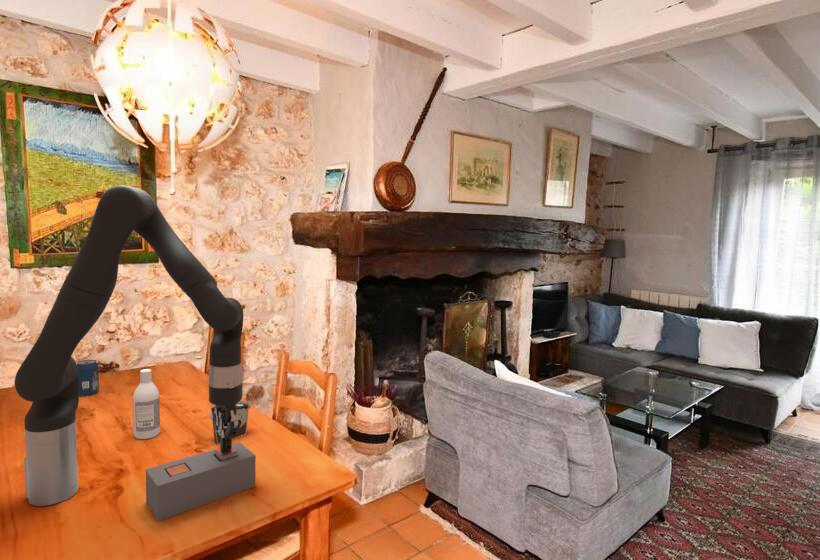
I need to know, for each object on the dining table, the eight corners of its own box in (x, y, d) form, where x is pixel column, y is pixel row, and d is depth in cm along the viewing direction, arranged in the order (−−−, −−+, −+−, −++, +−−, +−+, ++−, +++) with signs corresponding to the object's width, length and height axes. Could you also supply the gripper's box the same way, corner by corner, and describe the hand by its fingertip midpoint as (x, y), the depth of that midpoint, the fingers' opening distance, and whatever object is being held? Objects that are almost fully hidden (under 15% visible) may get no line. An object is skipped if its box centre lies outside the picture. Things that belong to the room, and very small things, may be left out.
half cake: (239, 427, 149) (239, 396, 148) (250, 433, 145) (250, 402, 144) (201, 439, 140) (201, 407, 139) (212, 446, 136) (212, 413, 135)
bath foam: (163, 435, 141) (162, 370, 139) (138, 442, 136) (136, 375, 134) (155, 427, 146) (154, 365, 144) (130, 434, 141) (129, 369, 139)
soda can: (78, 391, 173) (77, 359, 172) (100, 389, 176) (99, 358, 175) (74, 398, 167) (73, 365, 166) (97, 395, 170) (96, 363, 169)
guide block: (157, 521, 101) (157, 486, 100) (146, 502, 108) (145, 469, 107) (255, 486, 116) (255, 455, 115) (240, 471, 123) (240, 442, 122)
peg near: (171, 508, 105) (171, 476, 105) (166, 500, 108) (165, 468, 107) (190, 501, 108) (190, 470, 107) (184, 493, 111) (184, 463, 110)
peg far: (220, 485, 113) (220, 455, 112) (214, 478, 116) (214, 449, 115) (237, 480, 115) (237, 450, 115) (230, 473, 118) (230, 445, 118)
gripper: (199, 377, 115) (200, 444, 117) (220, 392, 105) (221, 465, 107) (230, 371, 120) (230, 436, 122) (252, 385, 111) (252, 455, 112)
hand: (226, 450), depth 115 cm, fingers closed
